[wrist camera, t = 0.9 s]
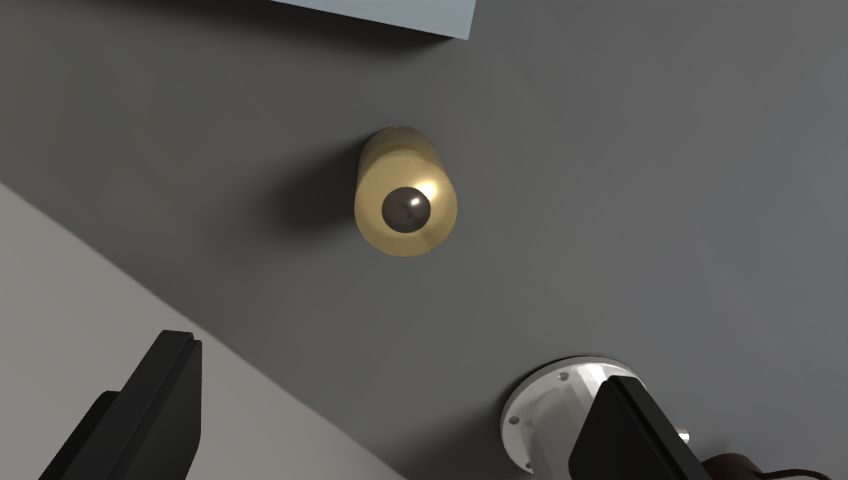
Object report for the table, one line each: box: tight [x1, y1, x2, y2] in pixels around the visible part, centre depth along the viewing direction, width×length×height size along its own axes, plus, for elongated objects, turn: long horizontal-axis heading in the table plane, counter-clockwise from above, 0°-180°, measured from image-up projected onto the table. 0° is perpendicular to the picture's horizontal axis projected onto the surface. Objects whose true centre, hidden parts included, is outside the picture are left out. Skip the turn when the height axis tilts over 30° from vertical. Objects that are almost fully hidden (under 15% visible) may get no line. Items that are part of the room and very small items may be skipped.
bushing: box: [354, 126, 457, 257], centre depth 27 cm, size 5×5×8 cm
